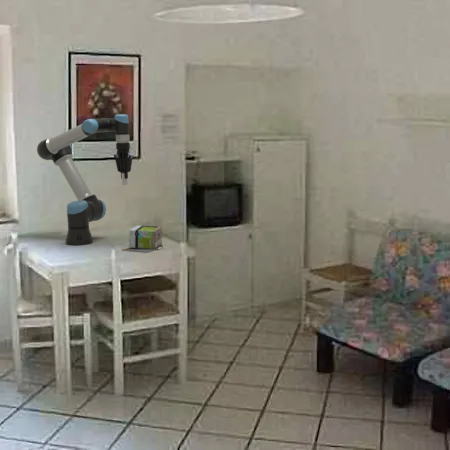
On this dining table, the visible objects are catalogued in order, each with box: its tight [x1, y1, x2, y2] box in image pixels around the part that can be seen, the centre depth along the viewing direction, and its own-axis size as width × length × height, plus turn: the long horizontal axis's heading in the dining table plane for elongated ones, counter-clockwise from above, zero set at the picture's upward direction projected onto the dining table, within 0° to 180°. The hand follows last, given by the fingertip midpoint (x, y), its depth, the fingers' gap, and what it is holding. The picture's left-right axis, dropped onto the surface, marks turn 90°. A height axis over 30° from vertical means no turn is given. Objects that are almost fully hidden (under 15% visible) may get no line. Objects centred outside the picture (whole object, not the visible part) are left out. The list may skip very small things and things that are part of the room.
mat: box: [126, 246, 160, 254], centre depth 409 cm, size 14×16×1 cm
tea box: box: [128, 225, 163, 249], centre depth 413 cm, size 15×10×15 cm
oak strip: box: [121, 246, 132, 252], centre depth 413 cm, size 2×18×1 cm, turn 146°
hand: (124, 184), depth 429 cm, fingers closed
